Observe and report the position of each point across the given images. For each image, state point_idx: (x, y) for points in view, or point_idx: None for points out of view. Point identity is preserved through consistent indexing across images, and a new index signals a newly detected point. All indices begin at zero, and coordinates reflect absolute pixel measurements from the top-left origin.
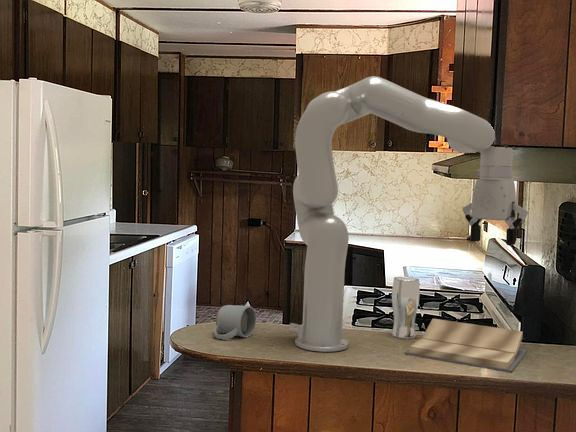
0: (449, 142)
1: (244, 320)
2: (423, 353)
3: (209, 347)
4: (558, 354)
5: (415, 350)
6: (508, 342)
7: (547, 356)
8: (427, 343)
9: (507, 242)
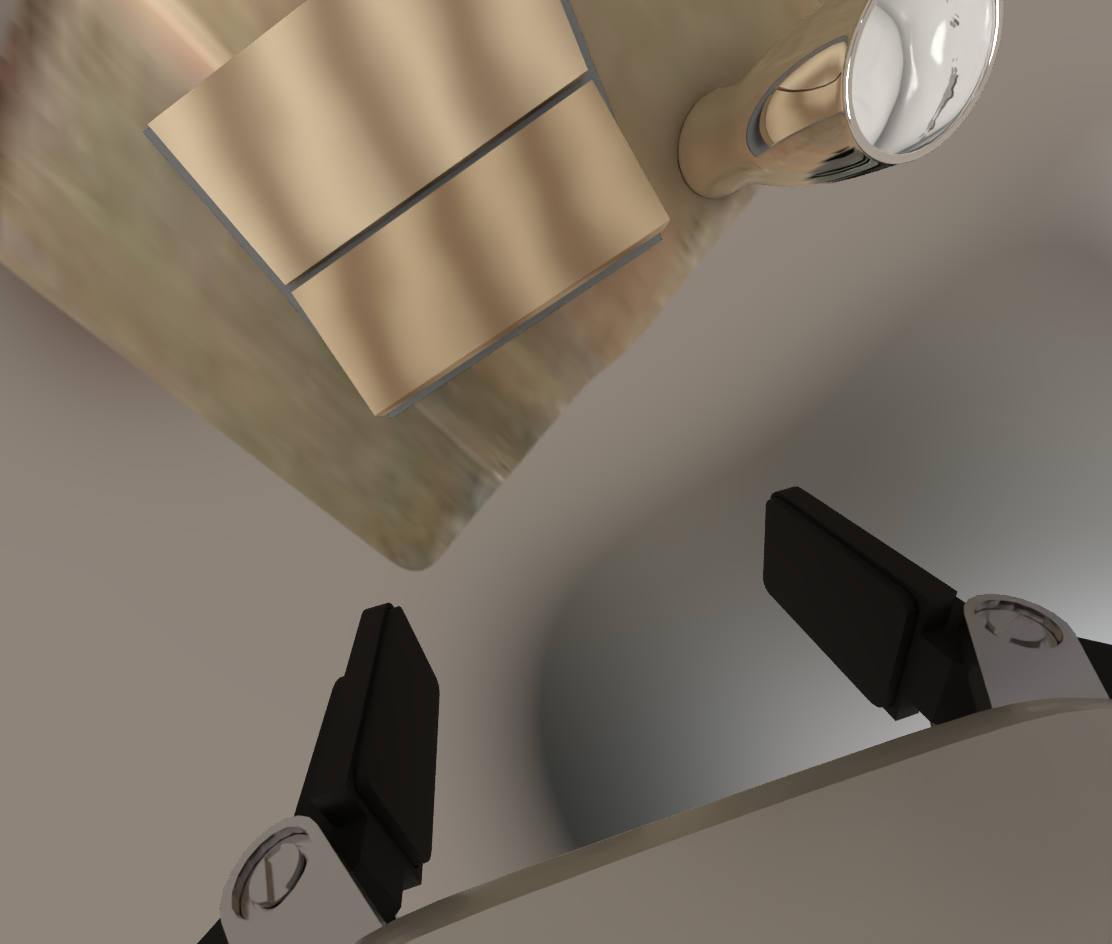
0: None
1: None
2: None
3: None
4: (349, 490)
5: None
6: (353, 322)
7: (335, 443)
8: (512, 16)
9: (372, 620)
